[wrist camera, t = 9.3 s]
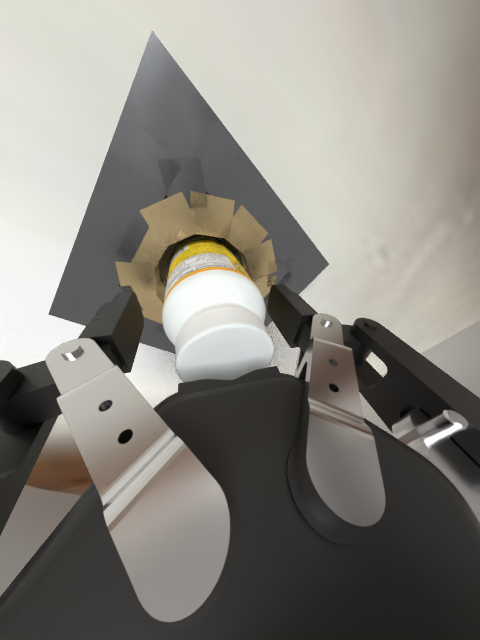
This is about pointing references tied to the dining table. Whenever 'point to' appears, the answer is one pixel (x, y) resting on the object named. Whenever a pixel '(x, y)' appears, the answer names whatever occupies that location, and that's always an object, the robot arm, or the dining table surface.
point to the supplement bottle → (214, 314)
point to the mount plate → (175, 204)
